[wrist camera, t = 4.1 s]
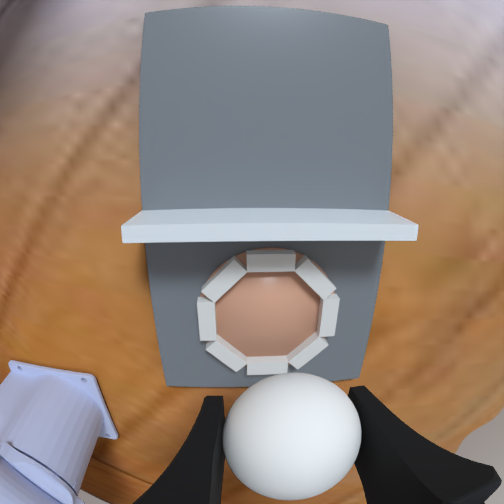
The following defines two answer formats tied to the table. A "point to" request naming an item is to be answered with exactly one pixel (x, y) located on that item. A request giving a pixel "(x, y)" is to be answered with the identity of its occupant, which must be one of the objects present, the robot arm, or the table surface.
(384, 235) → the board
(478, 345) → the table surface
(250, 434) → the ball
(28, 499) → the robot arm
